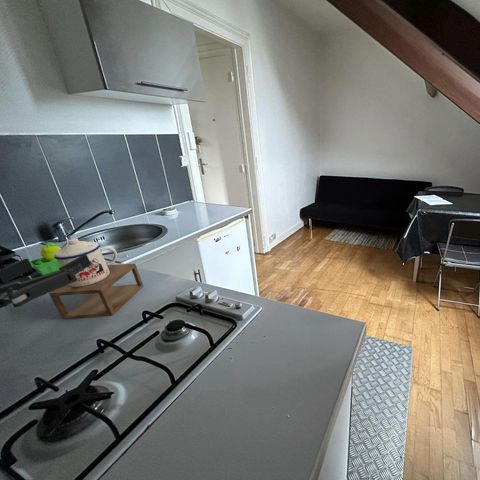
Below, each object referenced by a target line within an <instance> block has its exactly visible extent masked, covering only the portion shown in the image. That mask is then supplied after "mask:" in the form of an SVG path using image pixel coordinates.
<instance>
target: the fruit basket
mask: <svg viewBox="0 0 480 480" xmlns="http://www.w3.org/2000/svg"><path fill="white" fill-rule="evenodd" d="M59 249H62V247H60V246H58V245H57V244H55V243H54V242H47V243H45V245H43V246H42V247H41V250H40V256H41V257H40V258H37V259H33V260H29V262H30V264H31V265H32V267H33V269H35V270H37V272H38V273H39V274H40V275H41V276H43V275H46V274H49V273H52V272H55V271H58V270H60V269H59V268H60V265H59V263H58V261H57V259H55V258H54V253H55V252H56V251H58V250H59Z"/></svg>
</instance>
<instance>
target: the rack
mask: <svg viewBox="0 0 480 480" xmlns="http://www.w3.org/2000/svg"><path fill="white" fill-rule="evenodd" d="M107 267H108V269H109V271H110V273H109V275H108V276H107V277H106V278H104V279H103V280H101V281H99V282H96V283H94V284H91V285H87V286H82V287H72V286H70V285H69V284H68V285H65V286H63V287H61V288H58V289H56V290H54V291H51V292H49V293H48V295H49V297H50V298H51V300H52V302H53V304H54V306H55V308H56V310H57V311H58V313H59V314H60V317H61V319H63V320H66V319H78V318H93V317H107V316H114V315H115V314H116V313H117V312H118V311H119V310H120V309H121V308H123V306H124V305H126V303H127V302H128V301H130V299H131V298H132V297H134V296H135V295H136V294H137V293H138V292H139V291H140V290H141V289H142V288H143V287H144V284H143V281H142V278H141V275H140V273H139V270H138V268H137V265H136V263H122V264H111V265H108V266H107ZM130 272H132V274H133V277H134V279H135V282H136V284H124V285H123V284H121V285H114V284H116V283H117V282H118V281H120V280H121V279H122V278H124V276H126V275H127V274H129V273H130ZM74 295H75V296H78V295H88V296H87V297H85V298H84V299H83V300H81V301H79V302H78V303H77V304H76V305H75V306H73V307H72V308H71V309H70V310H68V311H67V309H66V307H65V305H64V303H63V301H62V300H61V296H74Z"/></svg>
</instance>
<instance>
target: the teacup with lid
mask: <svg viewBox="0 0 480 480" xmlns="http://www.w3.org/2000/svg"><path fill="white" fill-rule="evenodd" d="M106 251H111V252H112V253H113V255H114V256H113V258H112V259H111V260H110V261H107V262H106V260H105V257H104V255H103V253H104V252H106ZM82 255H87V257H88V259H89V261H90V263H91V265H90V266H88V267H87V268H85V269H83V270H82V271H80V272H79V273H77V274H75V276H76V278H77V281H75V282H72V283H70V284H69V285H70V286H72V287H82V286H87V285H91V284H94V283H96V282H99V281H101V280H103V279H104V278H106V277H107V276H108V275H109V273H110V271H109V269H108V267H107V266H108V265H114V263H115V262H117V259H118V252H117V250H116V249H115V248H114V247H109V246H107V247H102V248H101V245H100V244H99V243H98V242H96V241H85V240H79V239H78V238H75V237H74V238H70V239H68V241H67V244H65V245H64V246H63V247H61V249H59V250H58V251H56V252H55V253H54V258H55V259H57V261H58V263H59V265H60V267H62V266H64V265H66V264H68V263H69V262H71V261H73V260H75V259H77V258H79V257H80V256H82Z"/></svg>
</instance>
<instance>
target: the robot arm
mask: <svg viewBox="0 0 480 480" xmlns="http://www.w3.org/2000/svg"><path fill="white" fill-rule="evenodd" d="M90 265H91V263H90V261H89V259H88V257H87V255H82V256H80V257H79V258H77V259H75V260H73V261H71V262H69V263H68V264H66V265H64V266H62V267H60V268H59V269H60V270H58V271H55V272H52V273H49V274H46V275H40V276H36V277H33V278H30V279H27V280H24V281H13V282H10V281H12V280H14V279H16V278H18V277H20V276H22V275H24V274H26V273H28V272H30V271H32V270H34V267H33V266H32V265H31V263H30V260H29V258H23V259H21V260H19V261H17V262H14V263H12V264H10V265H7V266H5V267H3V268H1V269H0V309H2V308H6V307H8V306H9V305H10V304H12V305H13V307H14V308H19V307H22V306H23V305H25V304H27V303H29V302H31V301H32V300H35V299H37V298H39V297H42V296H44V295H46V294H49V293H50V292H51V291H54V290H56V289H58V288H61V287H63V286H65V285H68V284H70V283H72V282H75V281H77V278H76V276H75V274H77V273H79V272H80V271H82V270H83V269H85V268H87V267H88V266H90ZM8 282H10V283H8ZM1 284H2V285H1ZM13 288H15V289H16V290H14V289H13Z"/></svg>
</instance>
